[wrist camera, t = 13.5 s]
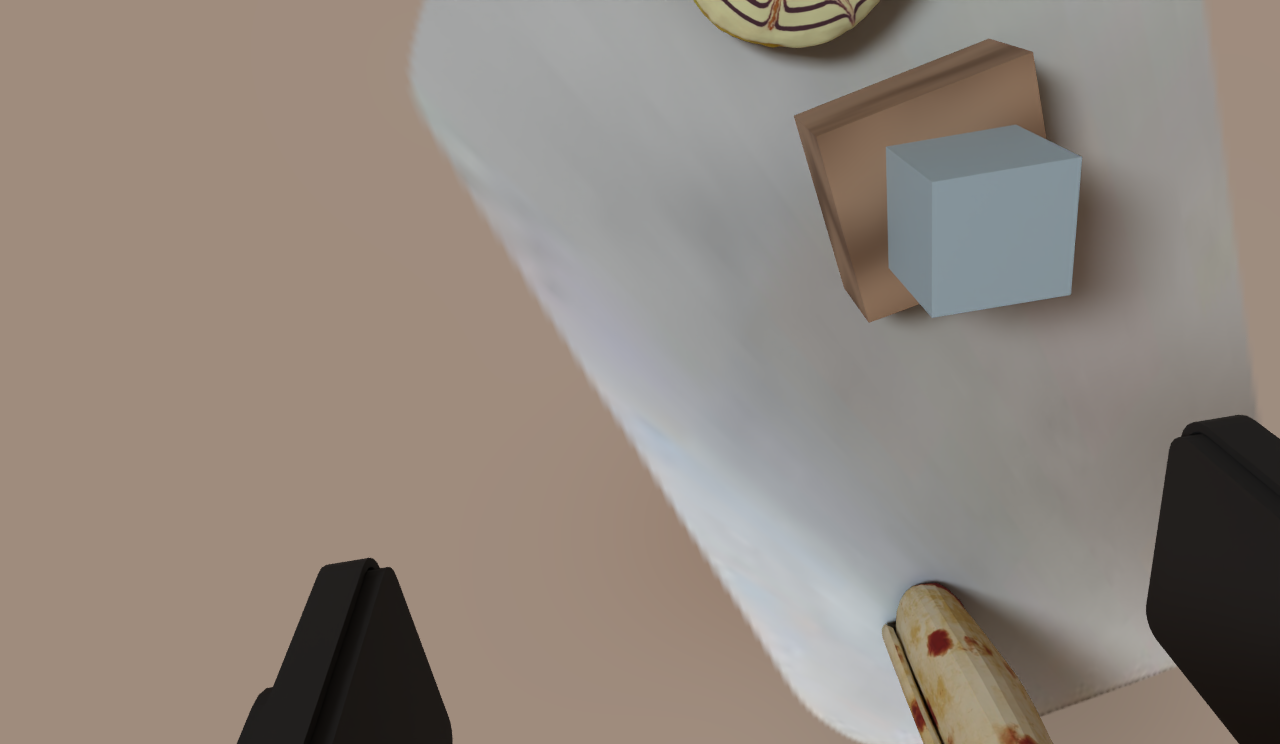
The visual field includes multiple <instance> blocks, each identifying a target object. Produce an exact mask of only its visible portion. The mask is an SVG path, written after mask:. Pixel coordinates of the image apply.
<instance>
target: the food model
mask: <svg viewBox="0 0 1280 744" xmlns="http://www.w3.org/2000/svg"><path fill="white" fill-rule="evenodd" d="M896 635H897V636H896ZM882 636H883V640H884V642H885V645H886V648H887V651H888V653H889V656H890V658H891V661H892V664H893V666H894V669H895V671H896V674H897V676H898V679H899V682H900V684H901V687H902V690H903V693H904V695H905V698H906V700H907V703H908V705H909V708H910V710H911V713H912V715H913V718H914V721H915V723H916V726H917V728H918V731H919V733H920V736H921V738H922V741H923V744H1053V743H1052V741H1051V739H1050V737H1049V735H1048V733H1047V731H1046V729H1045V726H1044V725H1043V723H1042V720H1041V718H1040V716H1039V714H1038V712H1037V710H1036V708H1035V707H1034V705H1033V703H1032V701H1031V699H1030V697H1029V695H1028V694H1027V692H1026V690H1025V689H1024V687H1023V685H1022V684H1021V682H1020V680H1019V679H1018V677H1017V676H1016V675H1015V673H1014V672H1013V670H1012V669H1011V668H1010V666H1009V665H1008V664H1007V662H1006V661H1005V660H1004V658H1003V657H1002V656H1001V654H1000V653H999V652H998V651H997V649H996V648H995V647H994V645H993V644H992V643H991V641H990V640H989V639H988V637H987V636H986V635H985V634H984V632H983V631H982V630H981V628H980V627H979V626H978V624H977V623H976V622H975V621H974V619H973V618H972V617H971V616H970V615H969V614H968V612H967V611H966V610H965V608H964V606H963V604H962V603H961V601H960V600H959V599H958V598H957V597H956V596H955V595H954V594H953V593H952V592H951V591H950V590H948V589H947V588H946V587H944V586H942V585H940V584H938V583H928V584H919V585H915V586H912V587H911V588H910V589H908V590H907V591H906V592H905V594H904V595H903V597H902V598H901V600H900V603H899V606H898V609H897V616H896V634H895V632H894V629H893V628H892V627H890V626H888V625H886V624H885V625H884V626H883V628H882Z"/></svg>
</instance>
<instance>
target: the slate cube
mask: <svg viewBox="0 0 1280 744" xmlns="http://www.w3.org/2000/svg"><path fill="white" fill-rule="evenodd" d="M1081 165H1082V157H1081V156H1079V155H1077V154H1075V153H1073V152H1071V151H1069V150H1067V149H1065V148H1063V147H1061V146H1059V145H1057V144H1055V143H1053V142H1051V141H1049V140H1047V139H1044V138H1042V137H1040V136H1038V135H1036V134H1034V133H1032V132H1030V131H1028V130H1026V129H1024V128H1022V127H1020V126H1018V125H1011V126H1005V127H999V128H993V129H987V130H981V131H975V132H969V133H964V134H958V135H952V136H946V137H940V138H934V139H928V140H922V141H916V142H910V143H905V144H899V145H893V146H887V147H886V177H887V219H888V261H889V269H890V270H891V271H892V272H893V274H894V275H895V276H896V277H897V278H898V279H899V281H900V282H901V283H902V284H903V285H904V286H905V287H906V289H907V290H908V291H909V292H910V293H911V294H912V295H913V297H914V298H915V299H916V300H917V301H918V302H919V304H920V305H921V306H922V307H923V308H924V309H925V310H926V312H927V313H928V314H929V315H930V316H931V317H932V318H934V317H940V316H946V315H952V314H958V313H964V312H970V311H976V310H982V309H988V308H994V307H1000V306H1006V305H1012V304H1018V303H1024V302H1031V301H1037V300H1043V299H1049V298H1055V297H1061V296H1067V295H1071V287H1072V275H1073V262H1074V250H1075V238H1076V226H1077V214H1078V201H1079V189H1080V177H1081Z"/></svg>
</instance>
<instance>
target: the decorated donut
mask: <svg viewBox="0 0 1280 744" xmlns="http://www.w3.org/2000/svg"><path fill="white" fill-rule="evenodd" d="M879 1H880V0H694V2H695V3H696V5H697V6H698V7H699V9H700V10H701V11H702V13H703V14H704V15H705V16H706V17H707V18H708V19H709V20H710V21H711V22H712V23H713V24H714V25H715V26H716V27H717V28H719V29H720V30H721V31H723V32H726V33H728V34H730V35H731V36H733V37H736V38H739V39H741V40H744V41H747V42H751V43H755V44H762V45H764V46H768V47H778V46H783V47H791V48H803V47H809V46H816V45H820V44H823V43H827V42H829V41H831V40H833V39H835V38H837V37H839V36H840V35H842V34H843V33H845V32H846V31H848V30H850V29H852V28H854V27H855V26H856V25H857V24H858V23H859V22H860V21H861V20H863V19H864V18H865V17H866V16H867V15H868V13H869V12H870V11H871V10H872V9H873V8H874V7H875V6H876V5H877V4H878V3H879Z"/></svg>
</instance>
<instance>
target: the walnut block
mask: <svg viewBox="0 0 1280 744" xmlns="http://www.w3.org/2000/svg"><path fill="white" fill-rule="evenodd" d="M794 118H795V121H796V125H797V128H798V132H799V135H800V139H801V142H802V145H803V149H804V152H805V156H806V159H807V162H808V166H809V169H810V173H811V176H812V180H813V183H814V186H815V190H816V193H817V197H818V200H819V204H820V207H821V210H822V214H823V217H824V221H825V224H826V227H827V231H828V234H829V238H830V241H831V245H832V248H833V251H834V255H835V258H836V262H837V265H838V268H839V272H840V275H841V279H842V282H843V286H844V288H845V290H846V291H847V293H848V294H849V295H850V297H851V298H852V300H853V301H854V302H855V304H856V305H857V307H858V308H859V309H860V311H861V312H862V314H863V315H864V317H865V318H866V319H867V321H868V322H872V321H875V320H877V319H880V318H883V317H886V316H888V315H891V314H894V313H897V312H899V311H902V310H905V309H908V308H910V307H913V306H916V305H919V302H918V301H917V300H916V299H915V298H914V297H913V295H912V294H911V293H910V292H909V291H908V290H907V289H906V287H905V286H904V285H903V284H902V283H901V282H900V281H899V279H898V278H897V277H896V276H895V275H894V274H893V272H892V271H891V270H890V269H889V261H888V219H887V177H886V147H887V146H893V145H899V144H905V143H910V142H916V141H922V140H928V139H934V138H940V137H946V136H952V135H958V134H964V133H969V132H975V131H981V130H987V129H993V128H999V127H1005V126H1011V125H1018V126H1020V127H1022V128H1024V129H1026V130H1028V131H1030V132H1032V133H1034V134H1036V135H1038V136H1040V137H1042V138H1044V139H1046V132H1045V126H1044V120H1043V113H1042V107H1041V101H1040V94H1039V88H1038V82H1037V75H1036V69H1035V63H1034V56H1033V52H1031V51H1028V50H1025V49H1022V48H1018V47H1015V46H1012V45H1008V44H1005V43H1002V42H998V41H995V40H992V39H987V40H984V41H982V42H979V43H977V44H974V45H972V46H969V47H967V48H964V49H962V50H959V51H957V52H954V53H951V54H949V55H946V56H944V57H941V58H939V59H936V60H934V61H931V62H929V63H926V64H924V65H921V66H919V67H916V68H914V69H911V70H908V71H906V72H903V73H901V74H898V75H896V76H893V77H891V78H888V79H886V80H883V81H881V82H878V83H876V84H873V85H870V86H868V87H865V88H863V89H860V90H858V91H855V92H853V93H850V94H848V95H845V96H843V97H840V98H838V99H835V100H832V101H830V102H827V103H825V104H822V105H820V106H817V107H815V108H812V109H810V110H807V111H805V112H802V113H800V114H797V115H794Z"/></svg>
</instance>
